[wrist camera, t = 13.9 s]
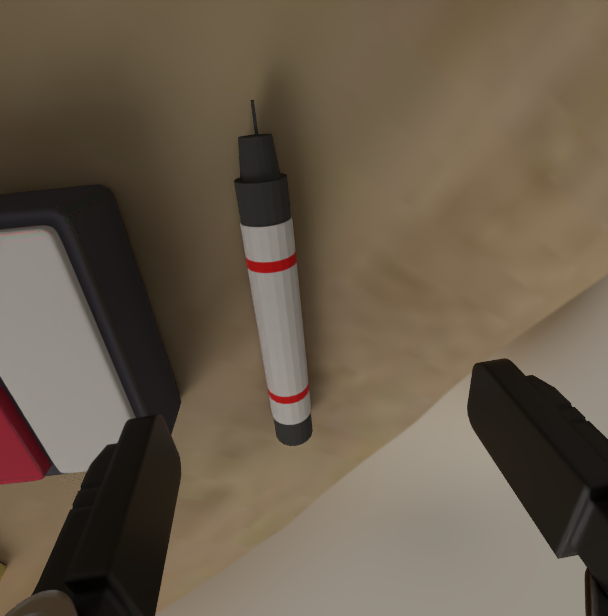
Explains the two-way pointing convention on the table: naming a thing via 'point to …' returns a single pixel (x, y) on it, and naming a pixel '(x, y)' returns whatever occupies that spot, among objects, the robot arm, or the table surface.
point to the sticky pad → (2, 570)
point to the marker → (274, 283)
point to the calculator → (72, 334)
